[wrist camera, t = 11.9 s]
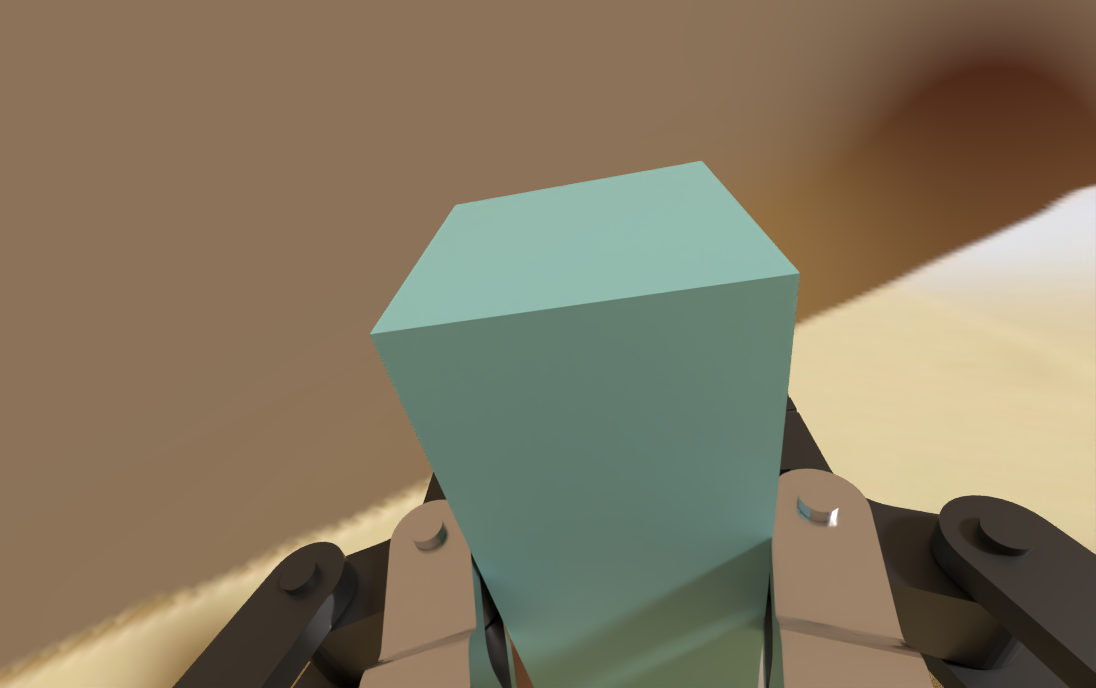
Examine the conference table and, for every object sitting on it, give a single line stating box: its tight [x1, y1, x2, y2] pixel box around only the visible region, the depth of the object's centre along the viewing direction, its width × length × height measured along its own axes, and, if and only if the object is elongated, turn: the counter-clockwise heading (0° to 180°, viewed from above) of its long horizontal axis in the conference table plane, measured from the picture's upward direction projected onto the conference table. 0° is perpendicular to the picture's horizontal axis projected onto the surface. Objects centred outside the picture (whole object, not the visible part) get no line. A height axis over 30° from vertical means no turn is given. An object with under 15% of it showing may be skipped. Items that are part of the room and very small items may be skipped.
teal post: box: [370, 161, 800, 688], centre depth 9 cm, size 4×4×12 cm
